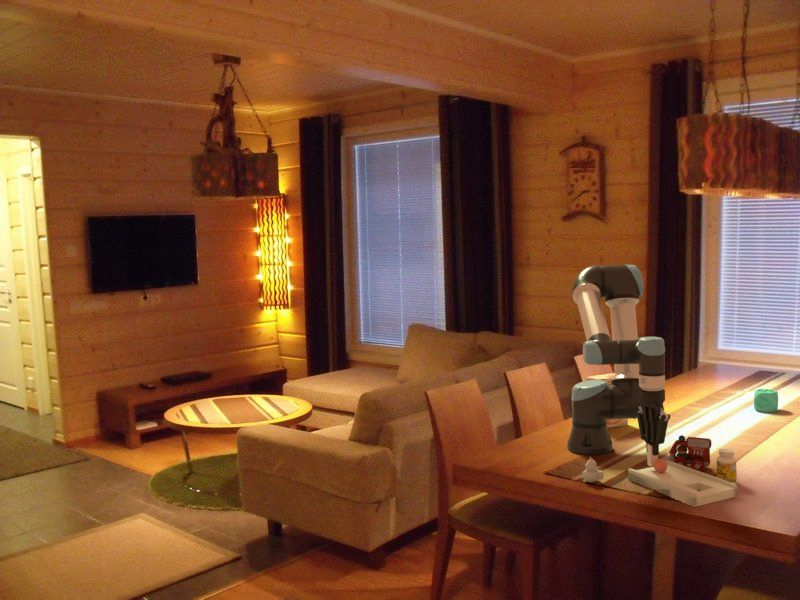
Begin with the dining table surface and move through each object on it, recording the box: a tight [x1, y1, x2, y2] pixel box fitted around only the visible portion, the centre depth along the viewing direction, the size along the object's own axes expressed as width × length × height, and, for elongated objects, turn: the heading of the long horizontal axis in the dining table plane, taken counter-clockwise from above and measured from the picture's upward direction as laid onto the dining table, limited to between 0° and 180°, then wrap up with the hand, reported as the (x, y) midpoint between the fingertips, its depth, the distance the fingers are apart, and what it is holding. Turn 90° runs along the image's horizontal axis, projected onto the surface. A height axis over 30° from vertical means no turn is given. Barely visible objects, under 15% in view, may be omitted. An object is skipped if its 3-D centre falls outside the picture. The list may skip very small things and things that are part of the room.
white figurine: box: [581, 456, 605, 483], centre depth 230 cm, size 5×7×8 cm
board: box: [627, 459, 738, 508], centre depth 222 cm, size 26×16×4 cm, turn 25°
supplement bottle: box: [716, 448, 737, 484], centre depth 225 cm, size 5×5×10 cm
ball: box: [653, 458, 668, 473], centre depth 229 cm, size 4×4×4 cm
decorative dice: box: [753, 388, 779, 413], centre depth 308 cm, size 8×8×8 cm
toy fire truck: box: [669, 434, 712, 472], centre depth 239 cm, size 7×12×10 cm, turn 57°
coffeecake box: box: [585, 372, 629, 429], centre depth 293 cm, size 15×7×20 cm, turn 114°
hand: (652, 464), depth 232 cm, fingers closed
